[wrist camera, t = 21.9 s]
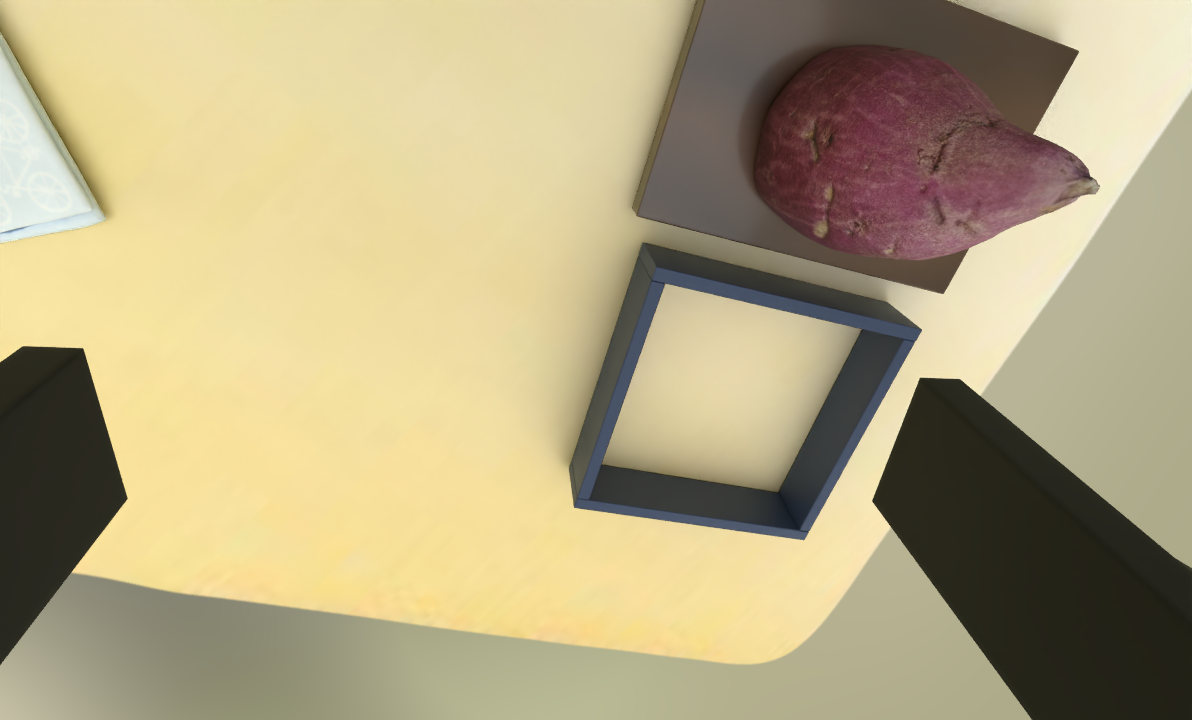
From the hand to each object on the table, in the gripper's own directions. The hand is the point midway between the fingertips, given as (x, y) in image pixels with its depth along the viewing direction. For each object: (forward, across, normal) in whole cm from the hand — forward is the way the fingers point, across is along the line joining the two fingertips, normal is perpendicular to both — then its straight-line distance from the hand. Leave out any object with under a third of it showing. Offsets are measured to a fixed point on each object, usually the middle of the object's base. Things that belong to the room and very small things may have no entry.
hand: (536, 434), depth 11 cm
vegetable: (+25, +17, +1) cm, 31 cm away
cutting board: (+27, +18, +2) cm, 32 cm away
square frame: (+27, +14, -15) cm, 34 cm away
